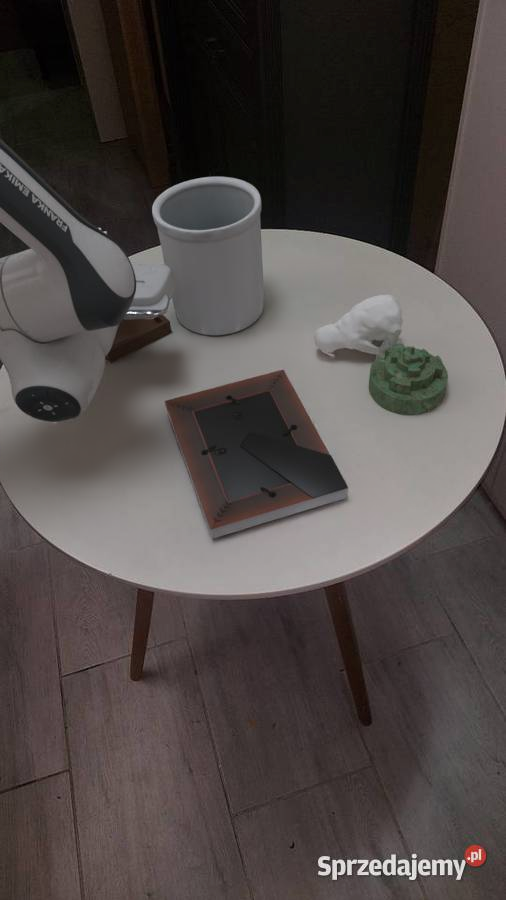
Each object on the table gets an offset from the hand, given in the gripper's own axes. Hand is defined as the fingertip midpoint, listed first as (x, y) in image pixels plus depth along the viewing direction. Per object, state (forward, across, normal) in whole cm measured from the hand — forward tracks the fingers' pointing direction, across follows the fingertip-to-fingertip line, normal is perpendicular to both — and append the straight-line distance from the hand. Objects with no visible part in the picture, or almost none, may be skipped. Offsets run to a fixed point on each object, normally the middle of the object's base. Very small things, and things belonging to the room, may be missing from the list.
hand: (107, 254), depth 94 cm
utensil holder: (+5, -14, +13) cm, 19 cm away
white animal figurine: (-5, -34, +13) cm, 37 cm away
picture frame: (-25, -21, +13) cm, 35 cm away
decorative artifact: (-12, -41, +13) cm, 45 cm away
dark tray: (-1, 0, +12) cm, 13 cm away
